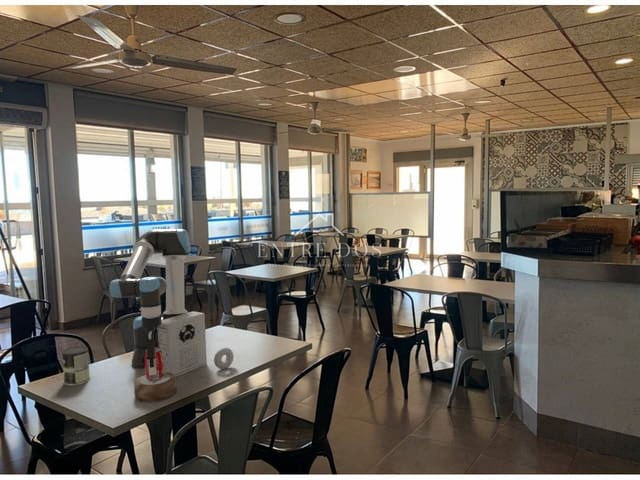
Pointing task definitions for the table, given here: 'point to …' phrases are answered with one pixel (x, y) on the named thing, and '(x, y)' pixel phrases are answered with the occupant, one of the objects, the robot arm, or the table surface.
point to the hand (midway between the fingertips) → (154, 370)
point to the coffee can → (75, 365)
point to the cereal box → (183, 343)
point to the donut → (220, 354)
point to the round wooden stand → (155, 388)
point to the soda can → (158, 366)
